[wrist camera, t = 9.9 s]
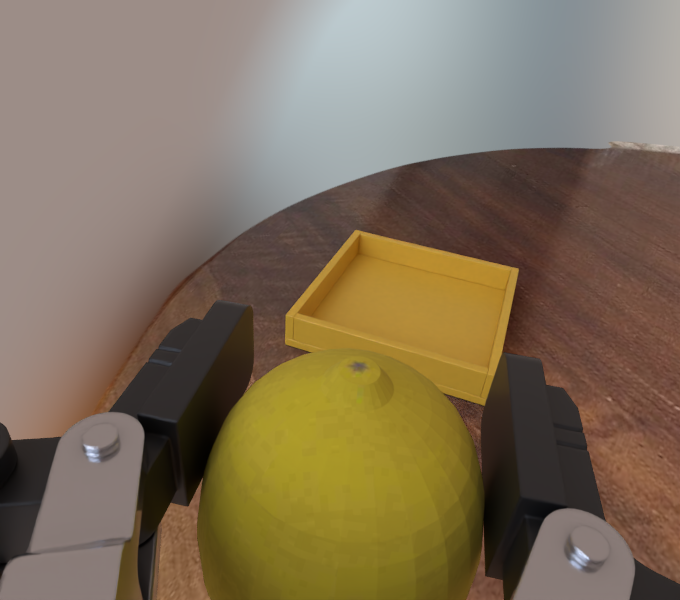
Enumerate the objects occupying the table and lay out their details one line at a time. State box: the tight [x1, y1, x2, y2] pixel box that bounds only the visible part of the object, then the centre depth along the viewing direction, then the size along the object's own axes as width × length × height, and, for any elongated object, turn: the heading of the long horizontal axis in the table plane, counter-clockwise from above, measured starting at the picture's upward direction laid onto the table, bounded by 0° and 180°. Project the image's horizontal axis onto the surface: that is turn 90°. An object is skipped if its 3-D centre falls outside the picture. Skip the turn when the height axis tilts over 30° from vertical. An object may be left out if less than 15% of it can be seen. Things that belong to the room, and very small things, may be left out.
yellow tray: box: [285, 230, 519, 406], centre depth 41 cm, size 14×14×3 cm
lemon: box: [197, 348, 485, 600], centre depth 11 cm, size 6×6×8 cm
